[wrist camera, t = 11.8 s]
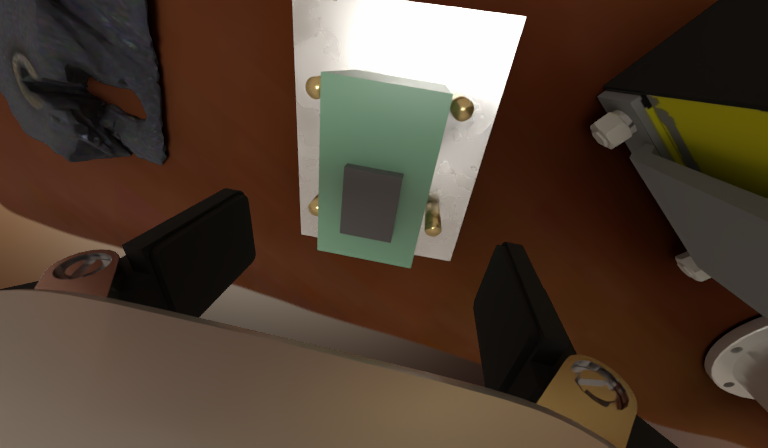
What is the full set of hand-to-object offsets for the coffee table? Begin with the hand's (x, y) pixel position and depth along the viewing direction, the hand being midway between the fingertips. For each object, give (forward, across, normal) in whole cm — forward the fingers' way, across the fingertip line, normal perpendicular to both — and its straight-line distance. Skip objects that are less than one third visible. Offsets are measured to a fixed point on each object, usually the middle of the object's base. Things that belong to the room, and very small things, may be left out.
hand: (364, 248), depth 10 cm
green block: (+12, +1, 0) cm, 12 cm away
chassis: (+13, +1, 0) cm, 13 cm away
